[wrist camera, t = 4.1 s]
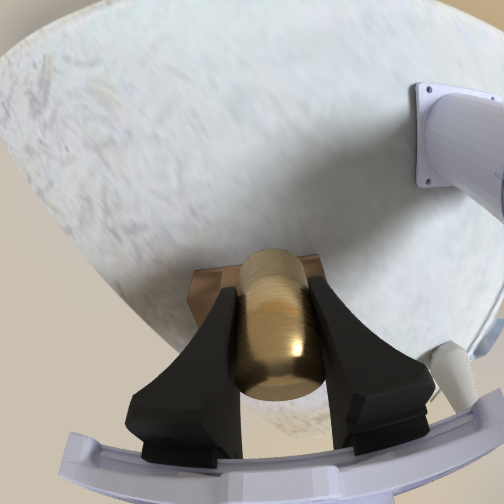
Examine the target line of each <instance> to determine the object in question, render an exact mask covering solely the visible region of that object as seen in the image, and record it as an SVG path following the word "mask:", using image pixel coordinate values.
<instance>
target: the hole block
mask: <svg viewBox="0 0 504 504" xmlns="http://www.w3.org/2000/svg"><path fill="white" fill-rule="evenodd" d="M297 258H298V259H299V260H300V261H301V263H302V265H303V268H304V272H305V276H306V280H307V285H308V277H314V276H323V277H324V278H325V280H326V277H325V274H324V270H323V267H322V264H321V261H320V258H319V255H310V256H303V257H297ZM241 267H242V265H236V266H228V267H221V268H213V269H205V270H197V271H194V274H193V278H192V282H191V286H190V290H189V293H188V297H187V301H188V304H189V306H190V309H191V311H192V314H193V316H194V318H195V321H196V323H197V325H198V328H200V326H201V325H202V323H203V322H204V320H205V318H206V317H207V315H208V313H209V311H210V310H211V308H212V306H213V304H214V302H215V300H216V298H217V296H218V294H219V292H220V290H221V289H222V288H225V287H234V286H236V290H237V294H238V295H239V277H240V270H241ZM326 281H327V280H326Z"/></svg>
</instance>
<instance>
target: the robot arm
mask: <svg viewBox="0 0 504 504" xmlns="http://www.w3.org/2000/svg"><path fill="white" fill-rule="evenodd" d="M427 87H429V92H427V90H426V89H427ZM415 89H416V105H417V170H416V184H417V185H418V186H419V187H420V188H431V187H446V186H456V187H457V188H458V189H460V190H461V191H463V192H464V193H465V194H467V195H468V196H469V197H471V198H472V199H473V200H475V201H476V202H477V203H478V204H480V205H481V206H482V207H484V208H485V209H486V210H487V211H488V212H490V213H491V214H492V215H493V216H495V217H496V218H497V219H498V220H499V221H500V222H502V223H503V224H504V103H503V100H502V98H501V96H498V95H494V94H490V93H486V92H481V91H476V90H471V89H466V88H460V87H454V86H448V85H441V84H433V83H425V82H418V83H417V84H416V88H415ZM491 98H492V100H491ZM427 179H429V181H428V182H427V183H426V180H427ZM308 289H309V294H310V298H311V303H312V307H313V311H314V315H315V320H316V325H317V329H318V334H319V339H320V343H321V348H322V353H323V358H324V363H325V368H326V379H325V380H326V387H327V393H328V401H329V408H330V417H331V426H332V436H333V447H334V450H332V451H326V452H320V453H313V454H306V455H297V456H287V457H275V458H259V459H243V453H242V439H241V417H240V391H239V390H238V389H237V387H236V385H235V382H234V376H235V355H236V334H237V314H238V294H237V290H236V286H234V287H225V288H222V289H221V290H220V292H219V294H218V296H217V298H216V300H215V302H214V304H213V306H212V308H211V310H210V311H209V313H208V315H207V317H206V318H205V320H204V322H203V323H202V325H201V326H200V328H199V329H198V331H197V332H196V334H195V336H194V337H193V338H192V340H191V341H190V342H189V344H188V345H187V346H186V348H185V349H184V350H183V351H182V352H181V354H180V355H179V356H178V357H177V358H176V359H175V360H174V361H173V363H171V365H170V366H169V367H168V368H167V369H165V370H164V371H163V372H162V373H161V374H160V375H159V376H158V377H157V378H156V379H154V380H153V381H152V382H151V383H150V384H148V385H147V386H145V387H144V388H143V389H141V390H140V391H138V392H137V393H136V394H134V395H133V397H132V399H131V402H130V405H129V409H128V412H127V417H126V421H125V425H126V427H127V429H128V430H129V431H130V432H131V433H133V434H134V435H135V436H136V437H138V438H139V439H140V440H142V441H143V442H144V444H143V448H142V452H136V451H130V450H125V449H119V448H115V447H110V446H105V445H101V444H100V443H99V442H98V441H96V440H95V439H93V438H91V437H88V436H84V435H81V434H77V433H74V432H70V434H69V437H68V441H67V444H66V447H65V451H64V455H63V459H62V462H61V466H60V470H59V476H60V477H62V478H65V479H66V480H68V481H71V482H73V483H75V484H77V485H79V486H82V487H84V488H86V489H88V490H91V491H94V492H97V493H100V494H103V495H106V496H110V497H112V498H116V499H119V500H123V501H127V502H130V503H135V504H395V502H394V496H396V495H399V494H401V493H404V492H407V491H410V490H413V489H415V488H418V487H420V486H423V485H426V484H428V483H430V482H433V481H435V480H437V479H439V478H442V477H444V476H446V475H448V474H450V473H453V472H455V471H456V470H459V469H460V468H463V467H464V466H467V465H469V464H470V463H472V462H474V461H476V460H478V459H480V458H481V457H483V456H485V455H487V454H488V453H490V452H491V451H493V450H494V449H496V448H497V447H499V446H500V445H501V444H503V443H504V396H503V394H502V392H501V389H500V388H498V389H496V390H494V391H492V392H490V393H488V394H486V395H484V396H483V397H481V398H479V399H478V400H477V401H476V402H475V403H474V404H473V405H472V407H471V408H469V409H466V410H464V411H462V412H460V413H457V414H455V415H453V416H451V417H448V418H445V419H443V420H440V421H438V422H435V423H433V424H430V425H428V422H427V419H426V416H425V415H426V414H427V409H426V406H425V404H426V403H427V402H428V400H429V399H430V397H431V396H432V394H433V392H434V390H435V383H434V381H433V378H432V376H431V374H430V372H429V371H428V369H427V367H426V366H425V364H422V363H420V362H418V361H416V360H414V359H412V358H410V357H408V356H406V355H405V354H403V353H401V352H400V351H398V350H396V349H395V348H393V347H392V346H390V345H389V344H388V343H386V342H385V341H383V340H382V339H380V338H379V337H378V336H377V335H375V334H374V333H373V332H372V331H371V330H369V329H368V328H367V327H366V326H365V325H364V324H363V323H362V322H361V321H360V320H359V319H358V318H357V317H356V316H355V315H354V314H353V313H352V312H351V311H350V310H349V309H348V308H347V307H346V306H345V305H344V303H343V302H342V301H341V300H340V299H339V297H338V296H337V295H336V294H335V292H334V291H333V290H332V289H331V287H330V286H329V284H328V283H327V281H326V280H325V278H324V277H323V276H314V277H308ZM351 465H354V466H351Z"/></svg>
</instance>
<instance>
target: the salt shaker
mask: <svg viewBox="0 0 504 504" xmlns="http://www.w3.org/2000/svg"><path fill="white" fill-rule="evenodd" d="M431 355H432V358H431V368H430V372H431V375H432V377H433V378H434V380H435V381H436V383H437V384H438V386H439V387H440V389H441V390H442V392H443V393H444V395H445V396H446V398H447V399H448V401H449V403H450V404H451V406H452V407H453V409H454V410H455V412H456V414H457V413H460V412H462V411H464V410H466V409H469V408H471V407H472V405H473V404H474V403H475V402H476V401H477V400H478V399H479V397H478V393H477V389H476V385H475V381H474V377H473V373H472V369H471V366H470V362H469V359H468V356H467V352H466V350H465V349H464V348H463V347H461V346H459V345H457V344H456V343H454V342H452V341H449V342H446V343H444V344H441V345H440V346H439V347H438V348H437V349H436V350H435V351H434V352H433V353H432V354H431Z"/></svg>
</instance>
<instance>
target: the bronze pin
mask: <svg viewBox="0 0 504 504" xmlns="http://www.w3.org/2000/svg"><path fill="white" fill-rule="evenodd" d="M325 379H326V368H325V363H324V358H323V353H322V348H321V343H320V339H319V334H318V329H317V325H316V320H315V315H314V311H313V307H312V303H311V298H310V294H309V289H308V285H307V280H306V276H305V272H304V268H303V265H302V263H301V261H300V260H299V259H298V258H297V257H296V256H295V255H294V254H292V253H290V252H288V251H285V250H282V249H265V250H261V251H259V252H256V253H254V254H253V255H251V256H250V257H248V258H247V259H246V261H245V262H244V263H243V265H242V267H241V270H240V277H239V295H238V314H237V334H236V355H235V376H234V382H235V385H236V387H237V389H238V390H239V391H240V392H242V393H243V394H245V395H247V396H249V397H251V398H254V399H258V400H264V401H286V400H292V399H296V398H300V397H303V396H305V395H308V394H310V393H312V392H313V391H315V390H316V389H318V388H319V387H320V386H321V385H322V384H323V382H324V381H325Z"/></svg>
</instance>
